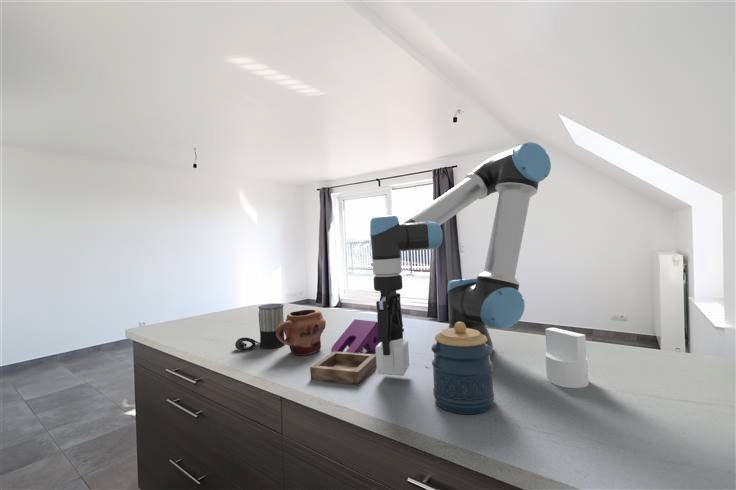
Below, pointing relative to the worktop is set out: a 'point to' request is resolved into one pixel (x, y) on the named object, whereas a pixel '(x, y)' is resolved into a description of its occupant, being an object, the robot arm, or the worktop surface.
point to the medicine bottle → (394, 353)
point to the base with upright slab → (566, 358)
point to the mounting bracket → (358, 337)
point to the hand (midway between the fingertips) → (393, 361)
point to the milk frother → (266, 328)
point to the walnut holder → (344, 367)
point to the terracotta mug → (302, 331)
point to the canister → (462, 370)
